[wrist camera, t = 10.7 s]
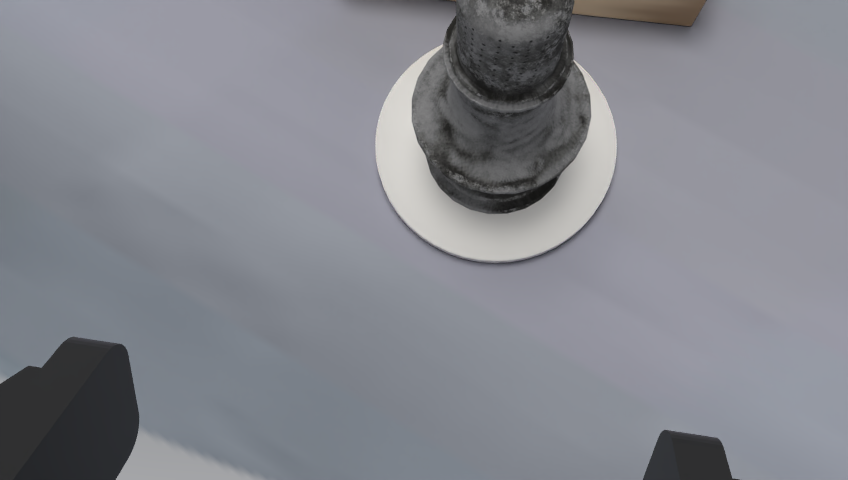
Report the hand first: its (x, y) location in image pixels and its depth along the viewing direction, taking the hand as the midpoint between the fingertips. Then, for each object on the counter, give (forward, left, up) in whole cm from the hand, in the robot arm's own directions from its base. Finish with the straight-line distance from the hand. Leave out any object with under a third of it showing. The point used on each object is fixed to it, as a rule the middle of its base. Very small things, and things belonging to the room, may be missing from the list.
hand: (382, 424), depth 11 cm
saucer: (+1, +10, -15) cm, 19 cm away
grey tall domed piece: (+1, +10, -15) cm, 18 cm away
